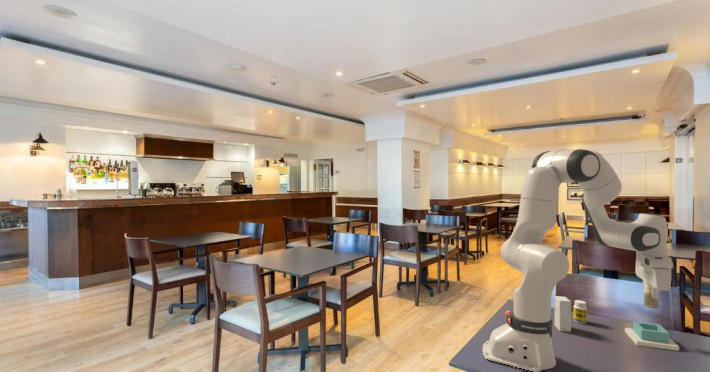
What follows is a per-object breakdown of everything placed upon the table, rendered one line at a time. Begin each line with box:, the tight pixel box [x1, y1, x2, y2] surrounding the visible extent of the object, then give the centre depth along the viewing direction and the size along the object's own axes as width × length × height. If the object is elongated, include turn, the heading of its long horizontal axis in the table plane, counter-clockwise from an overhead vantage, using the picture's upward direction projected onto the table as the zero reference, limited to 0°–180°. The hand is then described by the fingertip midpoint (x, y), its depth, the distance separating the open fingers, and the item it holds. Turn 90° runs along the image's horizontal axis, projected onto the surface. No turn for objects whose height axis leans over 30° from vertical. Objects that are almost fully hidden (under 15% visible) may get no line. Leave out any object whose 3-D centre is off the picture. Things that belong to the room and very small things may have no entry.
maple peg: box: [643, 278, 659, 309], centre depth 130 cm, size 4×4×10 cm
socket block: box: [624, 321, 680, 352], centre depth 130 cm, size 12×12×5 cm
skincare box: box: [554, 295, 572, 333], centre depth 141 cm, size 6×4×12 cm
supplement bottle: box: [572, 299, 588, 325], centre depth 147 cm, size 5×5×8 cm
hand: (651, 295), depth 130 cm, fingers closed on maple peg, 4 cm apart
